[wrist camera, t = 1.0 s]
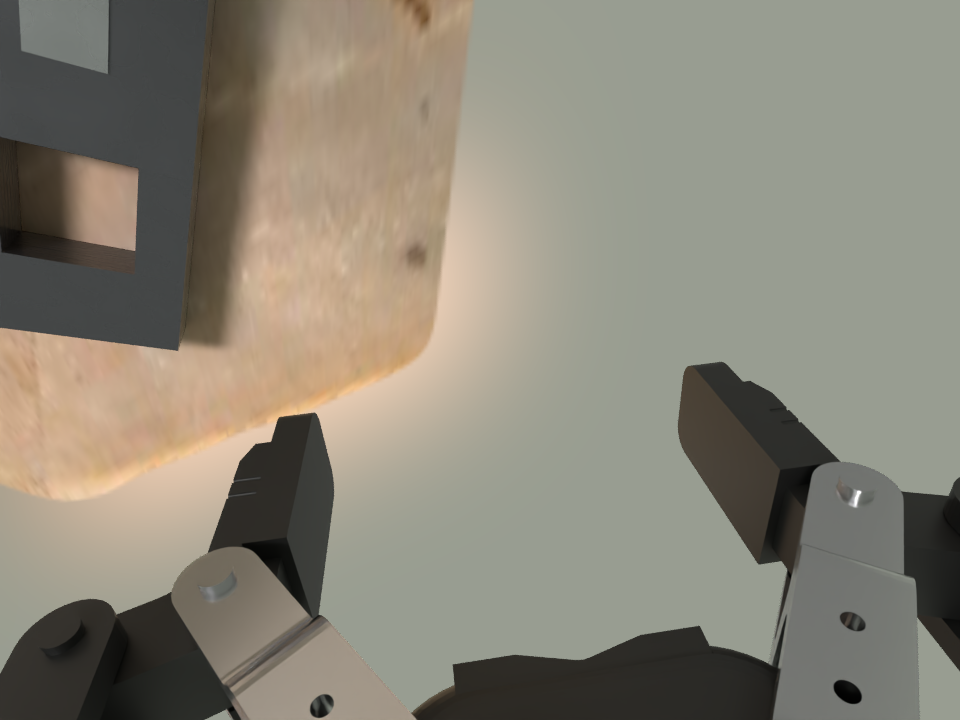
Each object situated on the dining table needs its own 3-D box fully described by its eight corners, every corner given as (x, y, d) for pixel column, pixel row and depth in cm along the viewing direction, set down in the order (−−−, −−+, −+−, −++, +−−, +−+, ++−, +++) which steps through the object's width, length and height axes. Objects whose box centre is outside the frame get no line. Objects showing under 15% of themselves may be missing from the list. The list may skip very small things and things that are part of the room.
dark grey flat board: (-26, 296, 31) (-49, 322, 29) (-80, -187, 22) (-120, -198, 20) (185, 326, 35) (177, 351, 33) (221, -75, 25) (214, -75, 23)
